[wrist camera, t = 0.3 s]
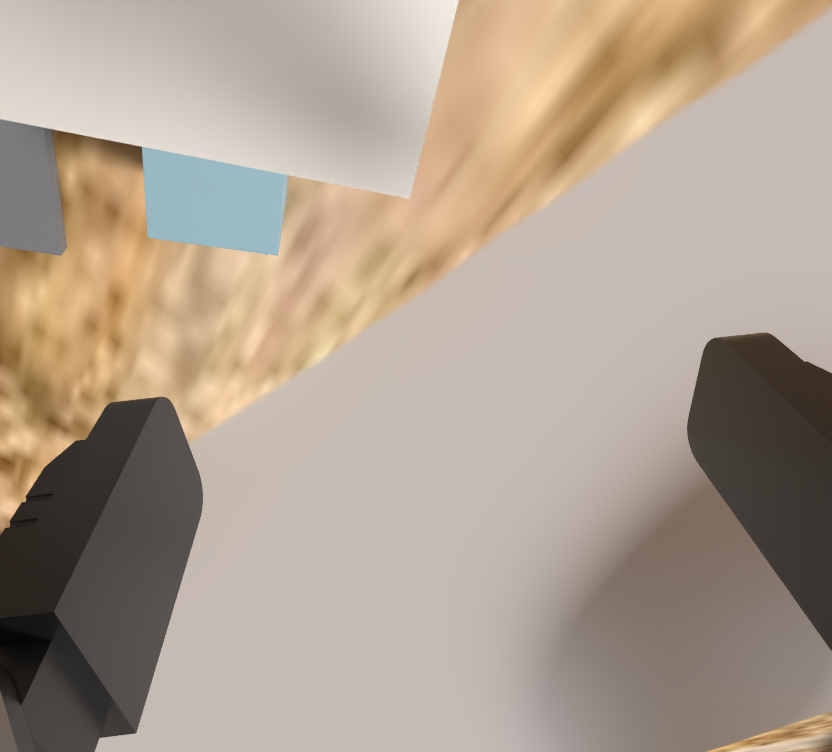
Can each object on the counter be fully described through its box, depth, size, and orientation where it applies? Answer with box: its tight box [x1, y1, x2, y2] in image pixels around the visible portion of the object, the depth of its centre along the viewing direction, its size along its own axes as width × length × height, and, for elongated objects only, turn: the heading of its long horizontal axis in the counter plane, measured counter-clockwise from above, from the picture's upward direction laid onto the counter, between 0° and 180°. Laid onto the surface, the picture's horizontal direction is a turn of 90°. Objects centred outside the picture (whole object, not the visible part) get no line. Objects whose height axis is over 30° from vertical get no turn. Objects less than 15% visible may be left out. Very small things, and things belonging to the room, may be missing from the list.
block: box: [142, 147, 288, 256], centre depth 23 cm, size 12×5×6 cm, turn 168°
